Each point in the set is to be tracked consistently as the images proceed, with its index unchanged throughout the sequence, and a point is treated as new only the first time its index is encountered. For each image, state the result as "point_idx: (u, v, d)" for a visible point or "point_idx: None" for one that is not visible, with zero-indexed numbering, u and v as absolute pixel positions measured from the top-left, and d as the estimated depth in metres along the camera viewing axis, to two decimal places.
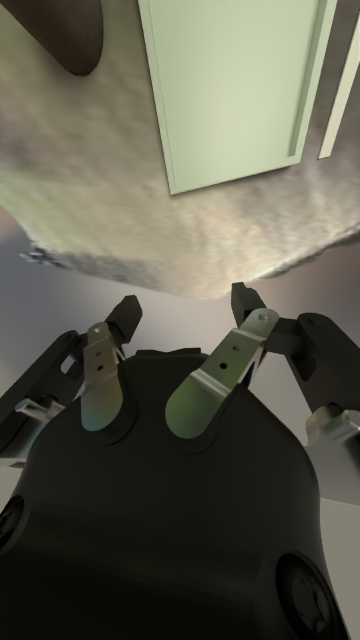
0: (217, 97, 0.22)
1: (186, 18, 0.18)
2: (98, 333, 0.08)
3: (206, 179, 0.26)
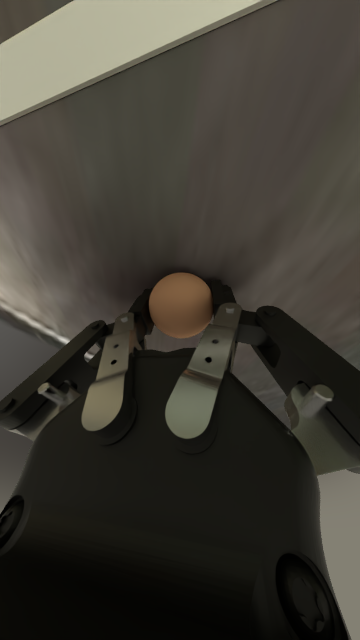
0: None
1: None
2: (124, 323, 0.09)
3: None
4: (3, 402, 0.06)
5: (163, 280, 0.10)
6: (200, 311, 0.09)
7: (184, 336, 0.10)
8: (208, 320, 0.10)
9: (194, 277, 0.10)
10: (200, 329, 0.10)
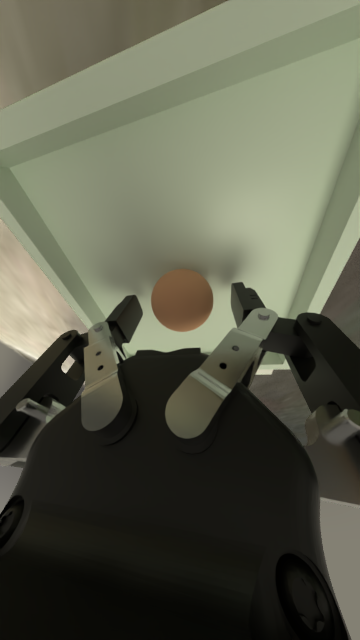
0: (165, 270, 0.13)
1: (250, 199, 0.09)
2: (99, 333, 0.08)
3: (49, 267, 0.12)
4: None
5: (165, 276, 0.10)
6: (200, 305, 0.10)
7: (185, 329, 0.11)
8: (208, 314, 0.11)
9: (194, 273, 0.10)
10: (200, 323, 0.11)
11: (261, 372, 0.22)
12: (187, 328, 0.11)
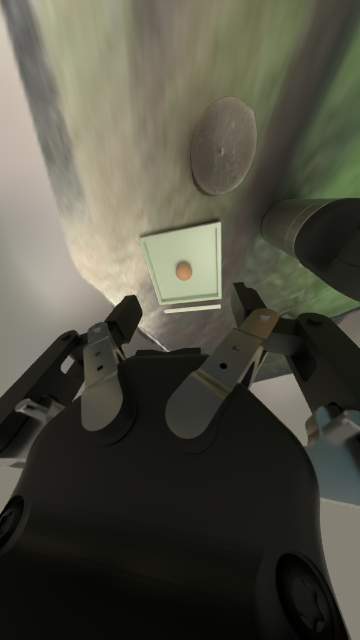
0: (179, 264, 0.45)
1: (199, 247, 0.41)
2: (98, 333, 0.08)
3: (149, 263, 0.44)
4: None
5: (179, 265, 0.42)
6: (188, 272, 0.42)
7: (184, 279, 0.43)
8: (190, 275, 0.43)
9: (187, 264, 0.42)
10: (188, 277, 0.43)
11: (216, 307, 0.55)
12: (185, 278, 0.43)
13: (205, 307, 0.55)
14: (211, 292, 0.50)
